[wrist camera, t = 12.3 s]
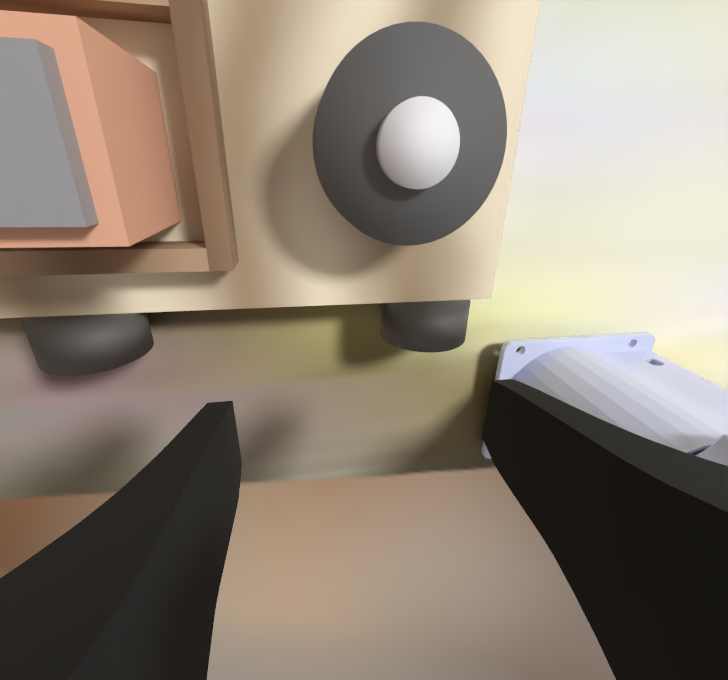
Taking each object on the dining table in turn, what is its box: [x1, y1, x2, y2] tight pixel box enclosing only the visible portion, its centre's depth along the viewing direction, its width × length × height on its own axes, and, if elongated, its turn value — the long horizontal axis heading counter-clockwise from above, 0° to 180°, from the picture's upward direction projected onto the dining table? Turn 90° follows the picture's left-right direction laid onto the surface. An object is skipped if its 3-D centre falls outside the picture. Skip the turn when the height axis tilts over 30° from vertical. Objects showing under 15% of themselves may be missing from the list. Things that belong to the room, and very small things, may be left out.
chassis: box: [0, 0, 541, 375], centre depth 14 cm, size 20×16×4 cm
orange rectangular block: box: [0, 10, 182, 248], centre depth 10 cm, size 4×4×6 cm
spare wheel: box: [312, 22, 507, 246], centre depth 12 cm, size 6×6×2 cm
